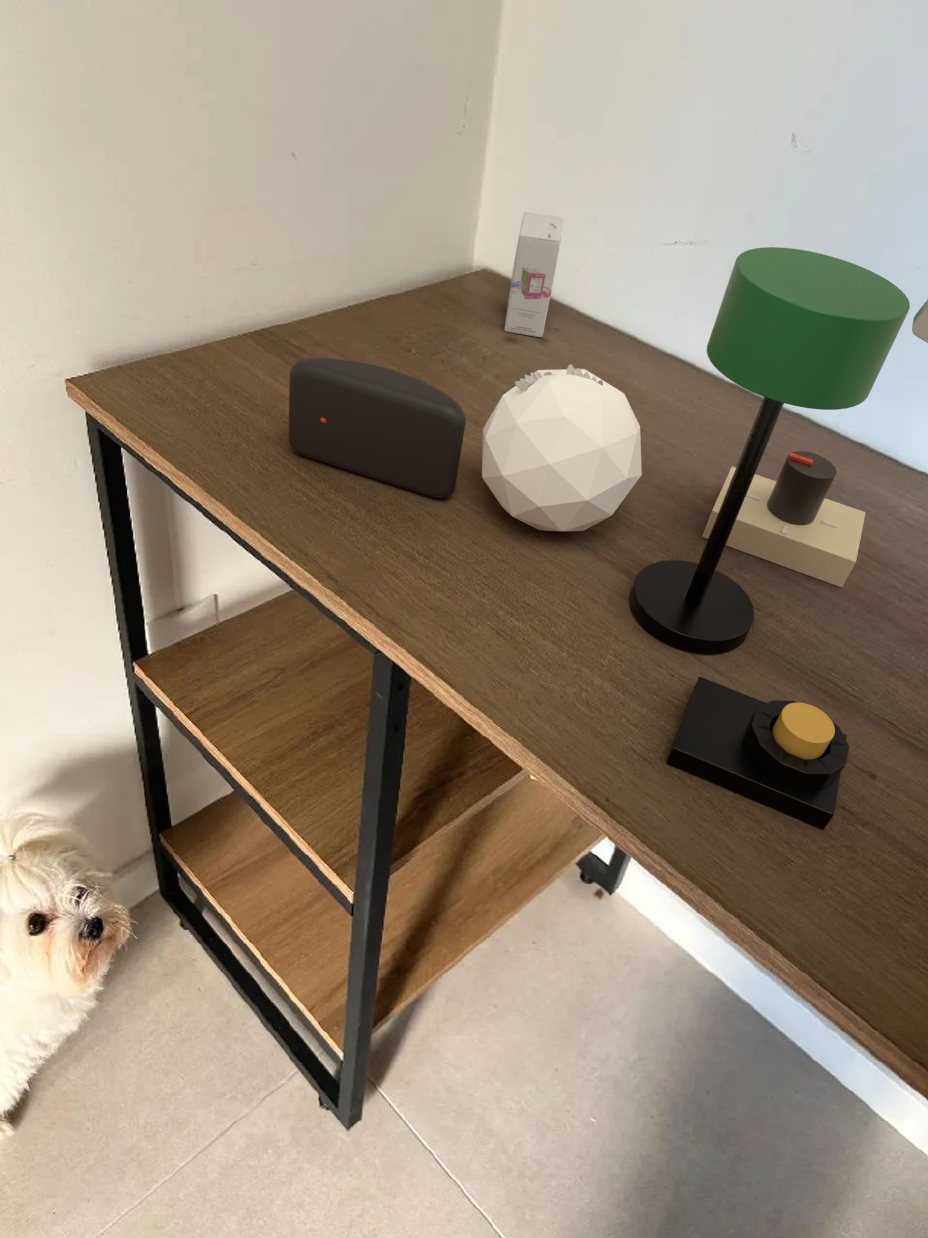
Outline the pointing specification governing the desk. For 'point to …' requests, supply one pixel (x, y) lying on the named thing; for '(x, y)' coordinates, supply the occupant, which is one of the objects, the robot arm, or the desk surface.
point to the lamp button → (803, 730)
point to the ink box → (533, 274)
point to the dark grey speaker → (376, 424)
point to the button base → (755, 754)
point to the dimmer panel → (794, 534)
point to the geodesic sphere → (561, 450)
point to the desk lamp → (771, 410)
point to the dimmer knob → (801, 487)
